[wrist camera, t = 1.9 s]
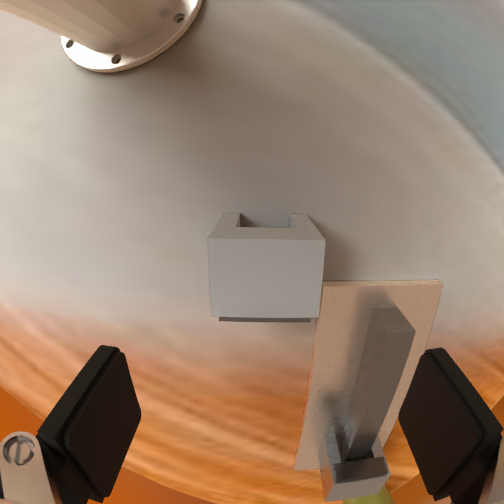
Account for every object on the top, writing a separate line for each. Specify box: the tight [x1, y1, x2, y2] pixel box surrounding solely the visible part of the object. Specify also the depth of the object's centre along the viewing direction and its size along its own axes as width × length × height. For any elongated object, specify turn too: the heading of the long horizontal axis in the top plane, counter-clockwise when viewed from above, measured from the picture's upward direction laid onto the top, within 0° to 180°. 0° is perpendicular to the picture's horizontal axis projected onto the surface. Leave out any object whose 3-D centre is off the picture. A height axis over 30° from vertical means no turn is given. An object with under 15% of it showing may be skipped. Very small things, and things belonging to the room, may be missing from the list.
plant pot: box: [343, 484, 395, 504], centre depth 30 cm, size 9×9×9 cm
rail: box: [293, 280, 443, 502], centre depth 24 cm, size 26×11×8 cm, turn 0°
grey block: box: [208, 213, 326, 322], centre depth 19 cm, size 5×6×7 cm
